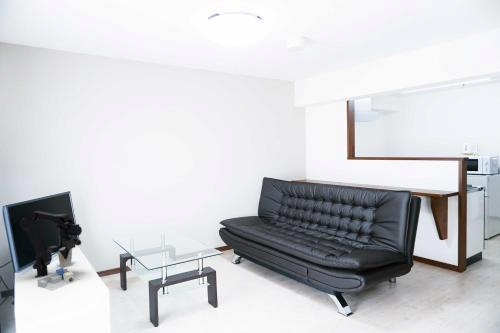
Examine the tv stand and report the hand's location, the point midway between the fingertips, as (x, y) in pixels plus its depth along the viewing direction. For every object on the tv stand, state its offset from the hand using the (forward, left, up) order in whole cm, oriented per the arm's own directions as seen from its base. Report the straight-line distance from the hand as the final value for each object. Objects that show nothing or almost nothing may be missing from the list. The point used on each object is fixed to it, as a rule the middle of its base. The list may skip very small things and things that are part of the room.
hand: (65, 259), depth 210 cm
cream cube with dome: (+6, -3, -11) cm, 13 cm away
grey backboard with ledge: (+5, -8, -12) cm, 15 cm away
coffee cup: (-20, +12, -12) cm, 26 cm away
